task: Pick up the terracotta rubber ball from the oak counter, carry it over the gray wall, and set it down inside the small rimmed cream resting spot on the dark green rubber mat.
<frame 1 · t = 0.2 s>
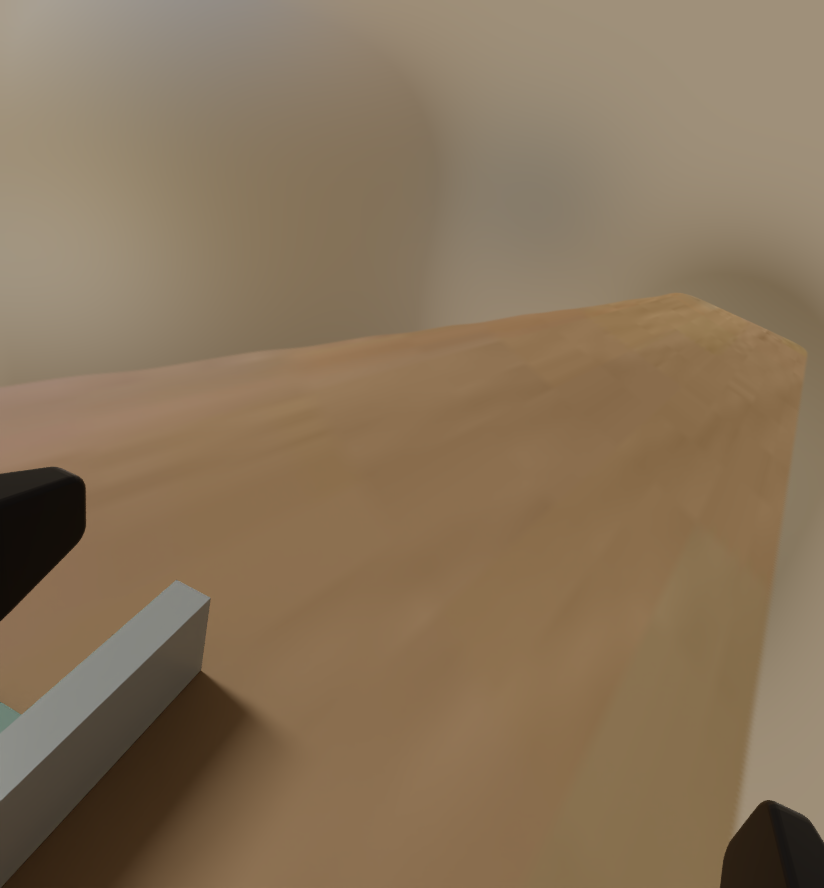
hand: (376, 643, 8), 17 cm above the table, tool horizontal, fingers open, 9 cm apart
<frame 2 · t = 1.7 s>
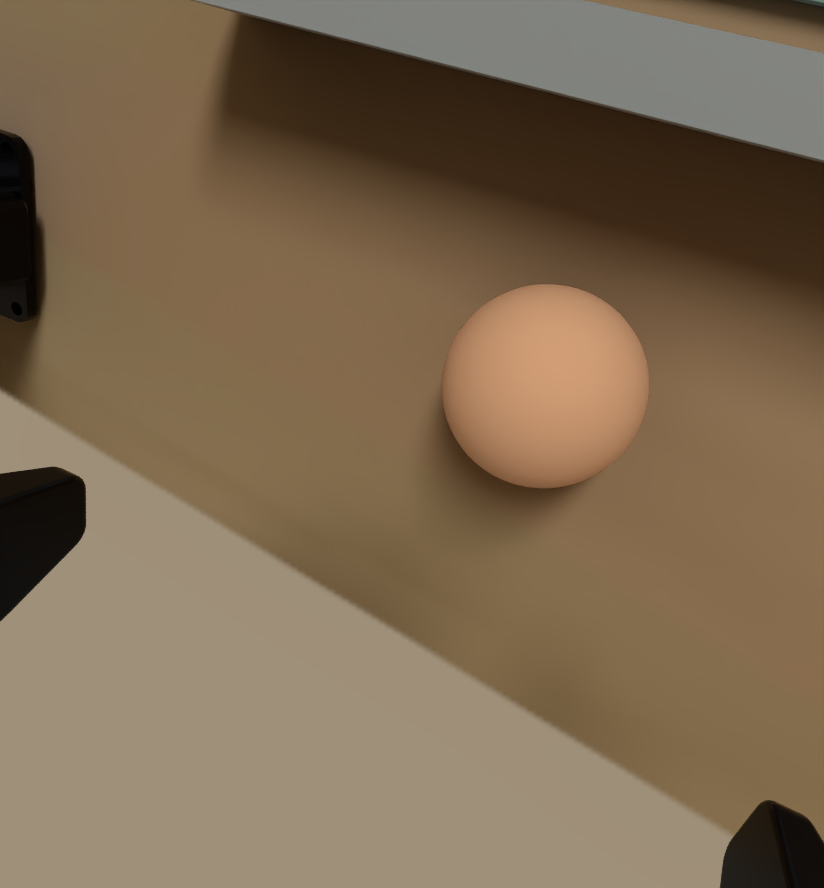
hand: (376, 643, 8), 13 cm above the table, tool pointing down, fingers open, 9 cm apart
ball: (542, 387, 17), point 2 cm above the table
gray wall: (702, 93, 15), on the table
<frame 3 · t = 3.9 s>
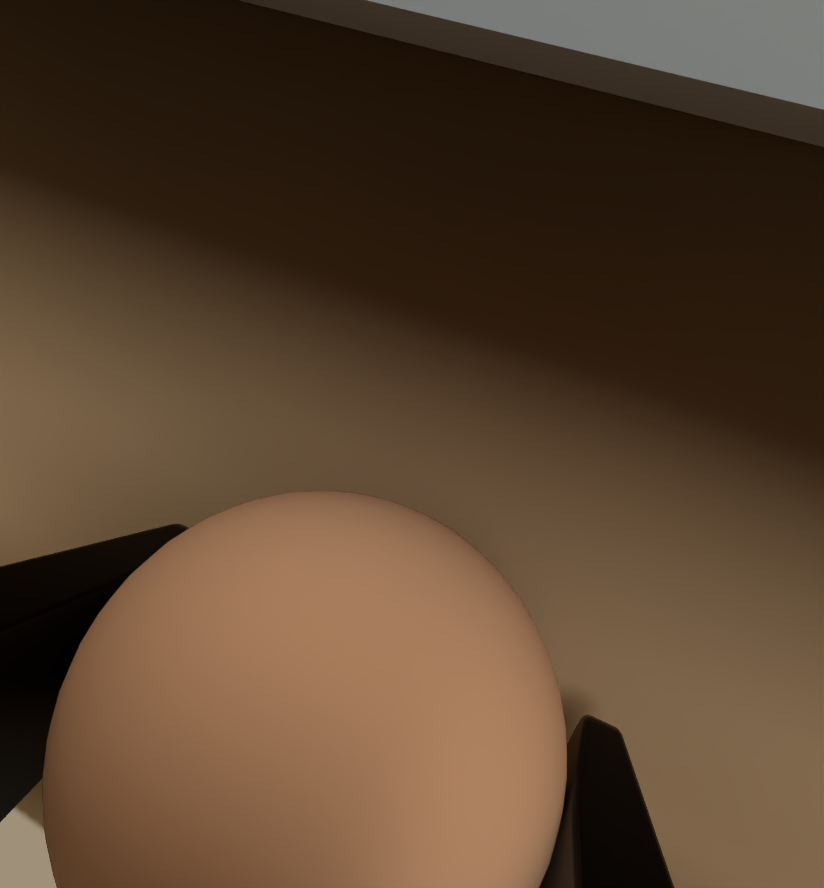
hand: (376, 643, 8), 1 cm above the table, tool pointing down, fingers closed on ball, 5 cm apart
ball: (318, 733, 7), point 2 cm above the table, touching gripper
gray wall: (705, 8, 6), on the table
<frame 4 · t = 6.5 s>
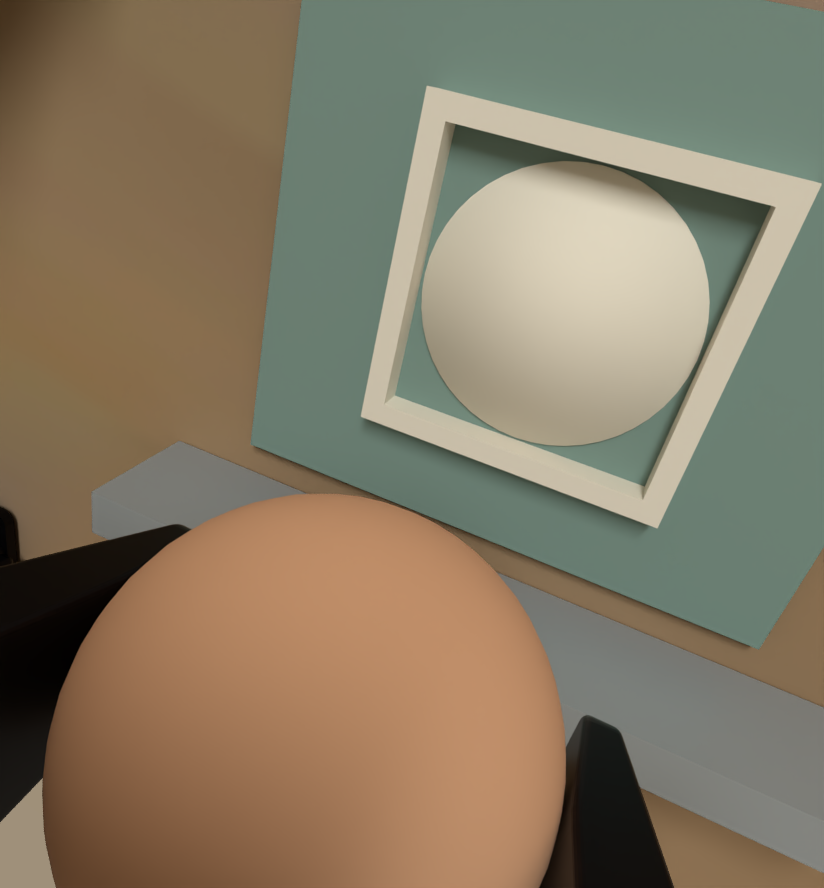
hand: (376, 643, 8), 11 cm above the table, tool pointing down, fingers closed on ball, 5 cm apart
resting mat: (558, 310, 17), on the table
ball: (318, 735, 7), point 13 cm above the table, touching gripper
gray wall: (498, 594, 21), on the table
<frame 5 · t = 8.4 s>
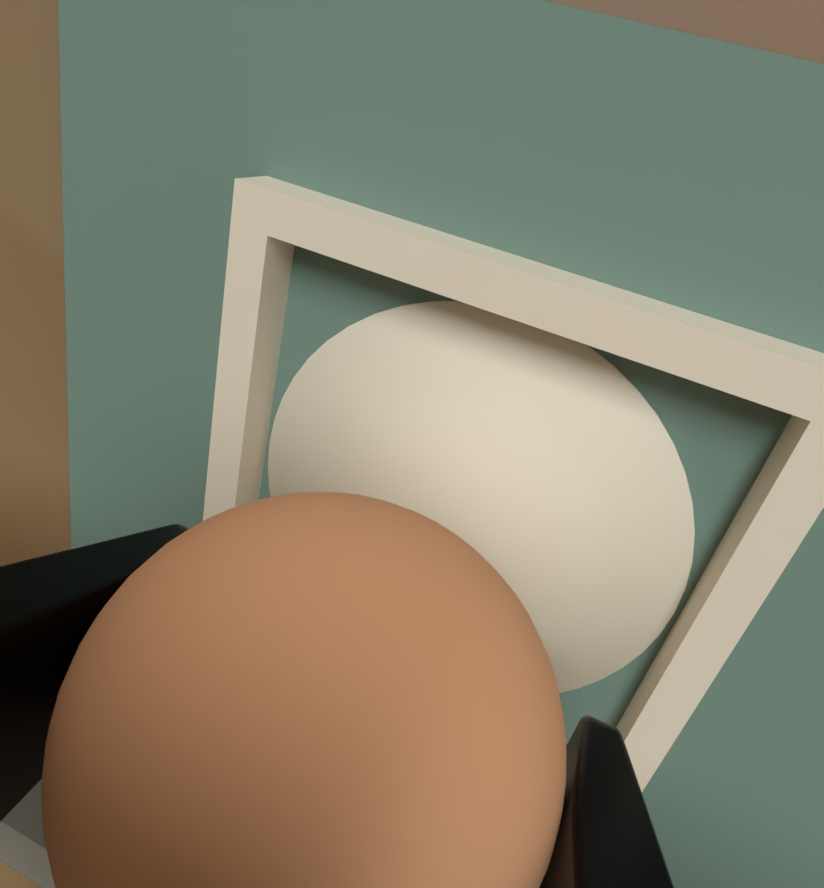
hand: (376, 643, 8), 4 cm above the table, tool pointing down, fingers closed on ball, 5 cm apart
resting mat: (466, 506, 11), on the table
ball: (318, 734, 7), point 5 cm above the table, touching gripper
gray wall: (403, 843, 15), on the table
when the fingers open (2 cm above the table, at t = 9.6 s): ball stays where it is, resting on resting mat.
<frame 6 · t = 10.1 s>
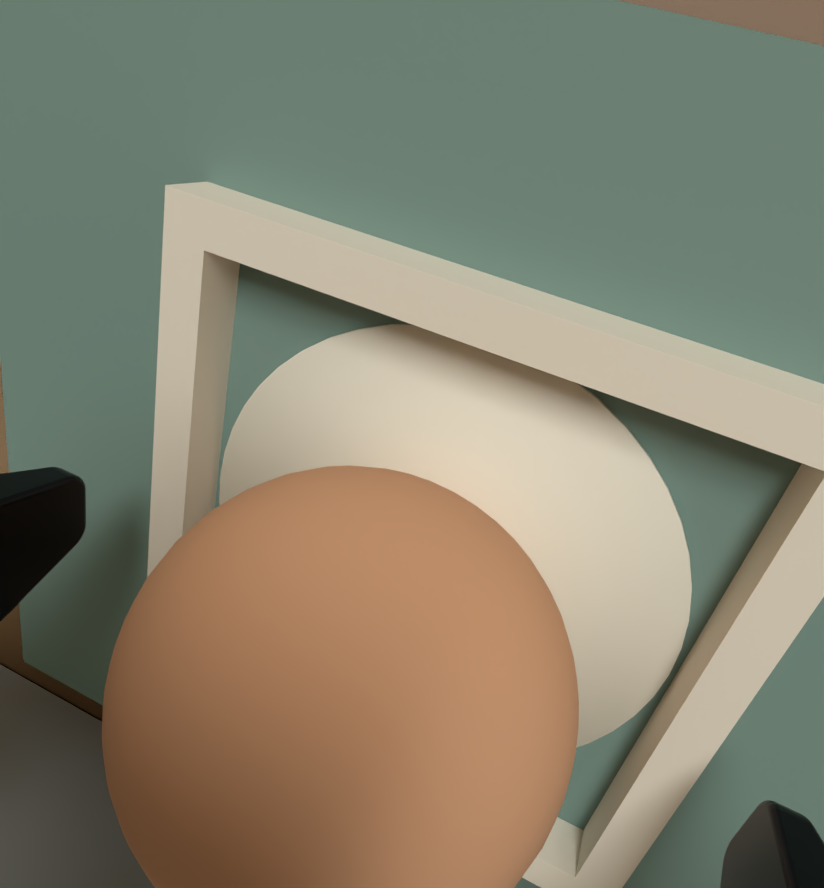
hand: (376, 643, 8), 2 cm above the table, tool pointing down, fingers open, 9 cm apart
resting mat: (438, 549, 10), on the table
ball: (348, 689, 8), point 3 cm above the table, touching resting mat
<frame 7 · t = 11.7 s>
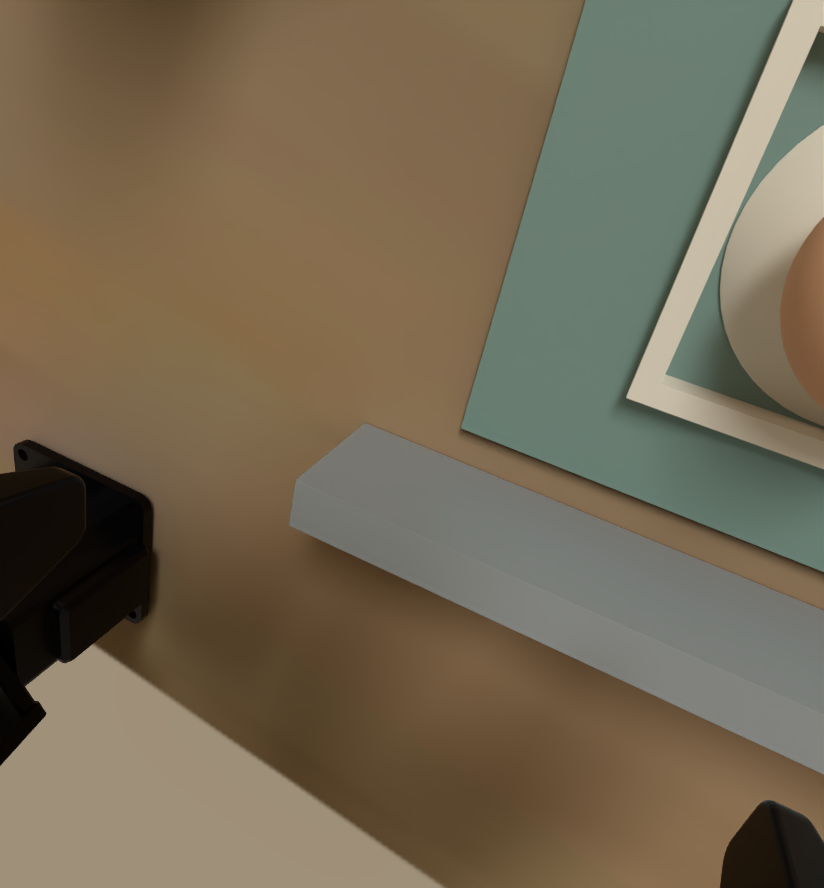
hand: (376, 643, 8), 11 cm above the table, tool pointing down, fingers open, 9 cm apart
gray wall: (753, 608, 18), on the table
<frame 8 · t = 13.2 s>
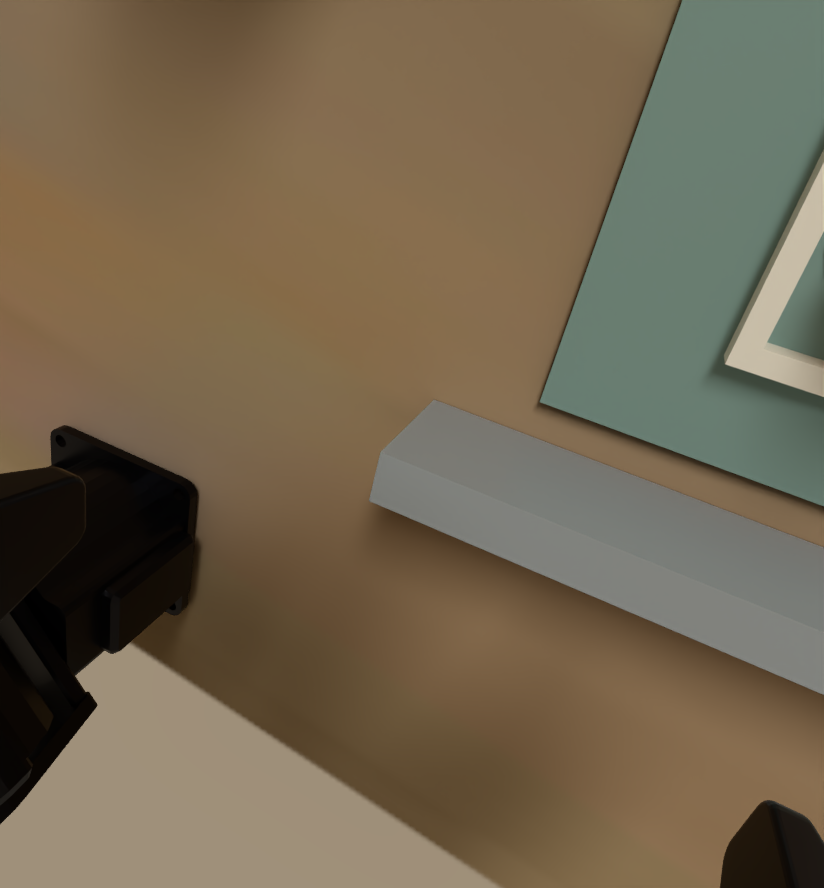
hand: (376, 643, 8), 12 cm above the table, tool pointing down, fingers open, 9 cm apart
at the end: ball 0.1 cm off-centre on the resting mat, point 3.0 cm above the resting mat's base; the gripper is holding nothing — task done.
